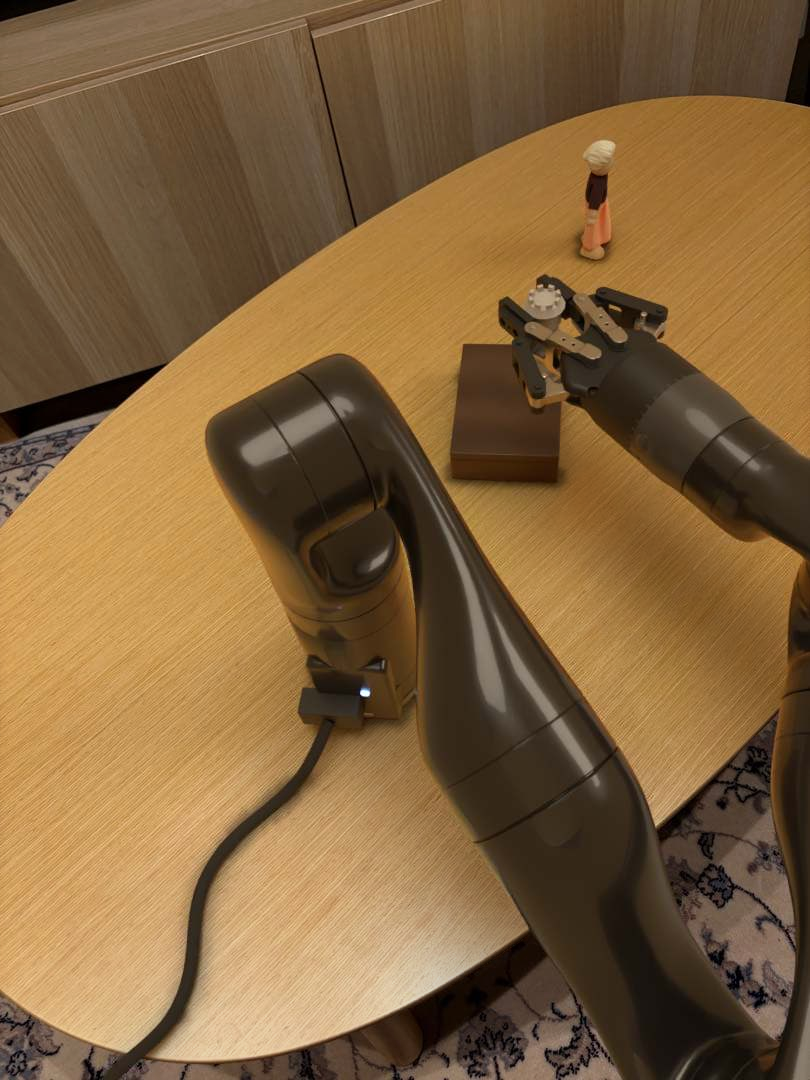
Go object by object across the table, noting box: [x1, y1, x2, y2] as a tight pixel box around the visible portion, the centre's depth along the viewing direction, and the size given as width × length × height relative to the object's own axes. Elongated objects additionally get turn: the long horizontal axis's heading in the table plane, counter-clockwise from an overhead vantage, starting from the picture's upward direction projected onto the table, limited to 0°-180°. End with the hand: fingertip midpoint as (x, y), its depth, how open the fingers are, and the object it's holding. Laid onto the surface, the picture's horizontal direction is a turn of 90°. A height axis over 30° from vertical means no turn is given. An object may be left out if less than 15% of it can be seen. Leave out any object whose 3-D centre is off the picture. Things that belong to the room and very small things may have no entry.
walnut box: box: [449, 343, 562, 483], centre depth 85 cm, size 14×10×4 cm
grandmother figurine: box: [579, 139, 616, 260], centre depth 94 cm, size 8×4×13 cm, turn 179°
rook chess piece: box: [523, 284, 565, 382], centre depth 71 cm, size 4×4×8 cm
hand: (521, 295), depth 70 cm, fingers closed on rook chess piece, 3 cm apart
